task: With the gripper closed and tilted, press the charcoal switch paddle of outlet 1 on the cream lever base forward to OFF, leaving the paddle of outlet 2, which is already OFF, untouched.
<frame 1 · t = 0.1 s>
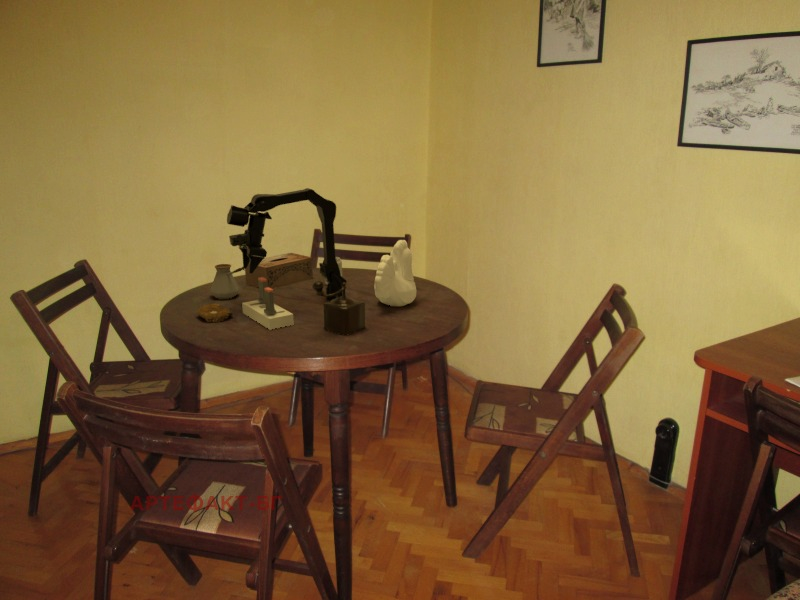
hand: (247, 270, 224), 15 cm above the table, tool pointing down, fingers open, 9 cm apart
cream lever base: (267, 318, 219), on the table
decorative rock: (213, 317, 221), on the table
cream foot sculpture: (390, 305, 236), on the table
switch 2: (269, 300, 210), point 9 cm above the table, slide at 4.0 cm
switch 1: (262, 290, 223), point 9 cm above the table, slide at 0.0 cm
coffee pot: (232, 299, 243), on the table
can: (333, 285, 264), on the table
tissue box cover: (280, 282, 269), on the table
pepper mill: (339, 330, 208), on the table
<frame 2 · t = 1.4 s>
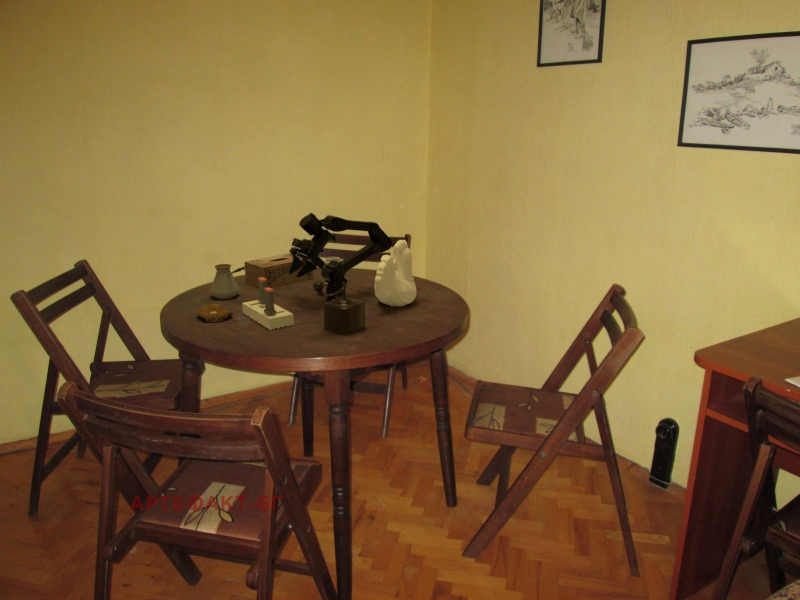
hand: (293, 275, 229), 13 cm above the table, tool tilted 45°, fingers open, 6 cm apart
nothing on the table moved.
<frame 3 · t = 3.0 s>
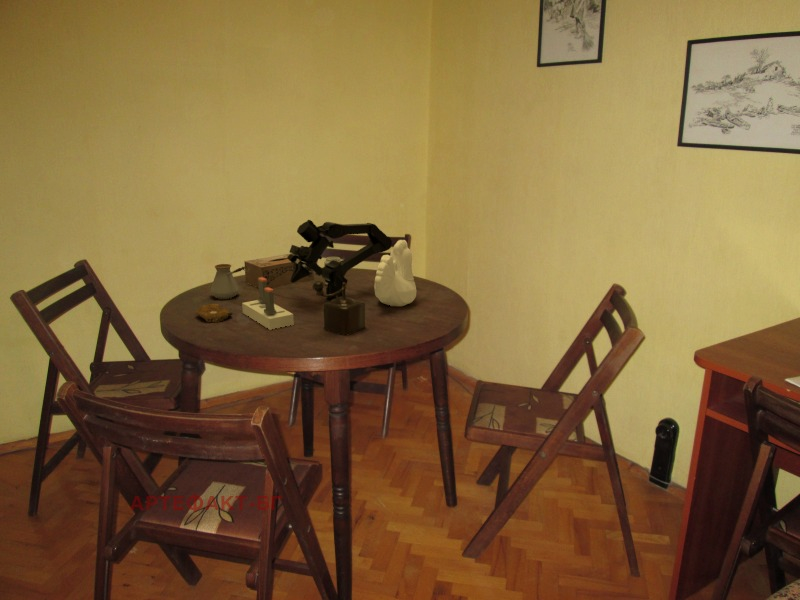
hand: (291, 282, 229), 10 cm above the table, tool tilted 45°, fingers closed
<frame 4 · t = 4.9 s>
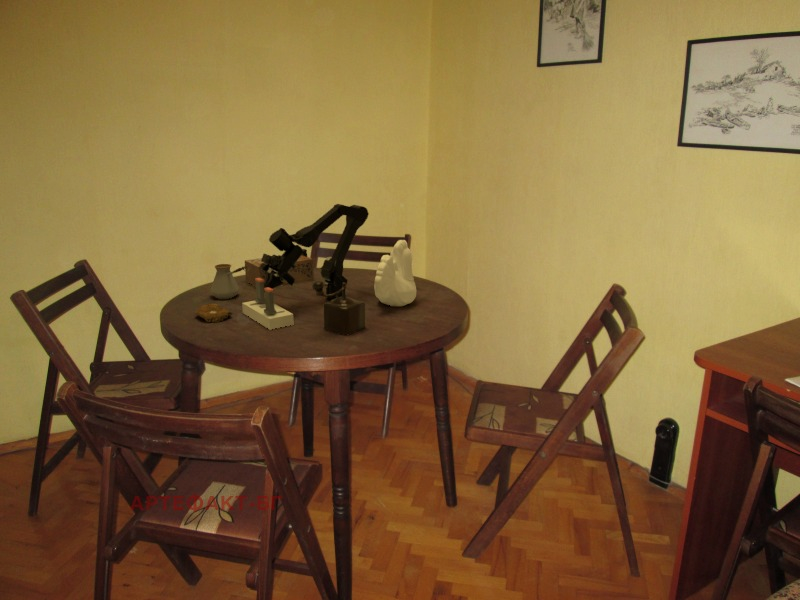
hand: (262, 291, 223), 8 cm above the table, tool tilted 45°, fingers closed, pressing on switch 1
switch 1: (260, 290, 222), point 9 cm above the table, slide at 1.1 cm, touching gripper
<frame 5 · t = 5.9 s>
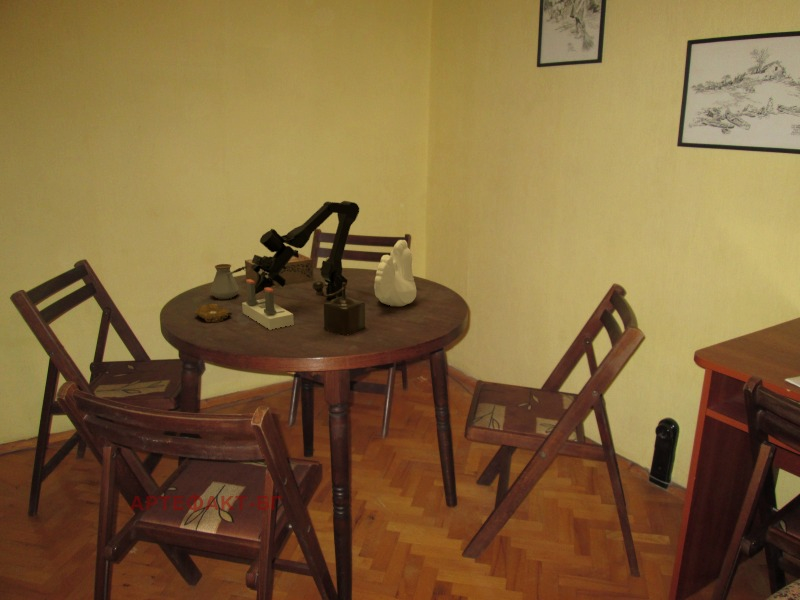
hand: (253, 293, 221), 8 cm above the table, tool tilted 45°, fingers closed, pressing on switch 1
switch 1: (251, 292, 220), point 9 cm above the table, slide at 4.6 cm, touching gripper
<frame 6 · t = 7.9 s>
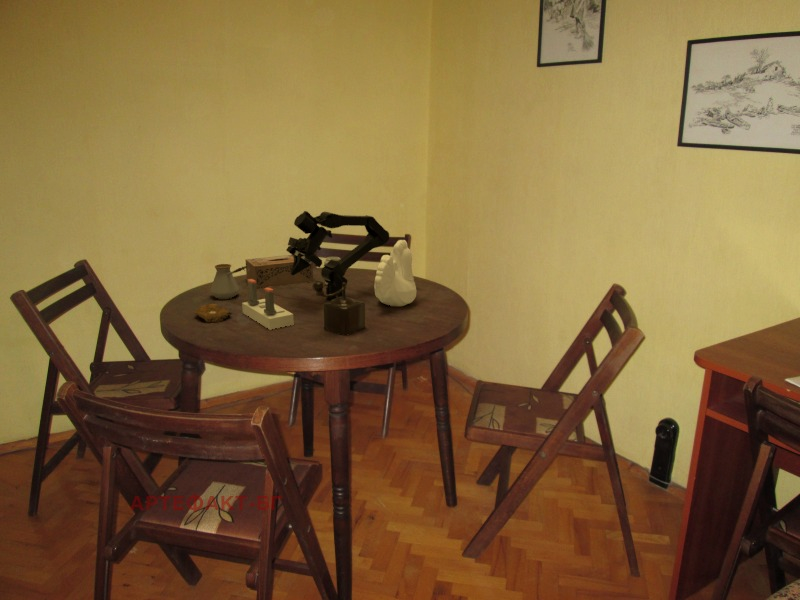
hand: (291, 274, 229), 13 cm above the table, tool tilted 40°, fingers closed
switch 1: (252, 291, 221), point 9 cm above the table, slide at 4.1 cm
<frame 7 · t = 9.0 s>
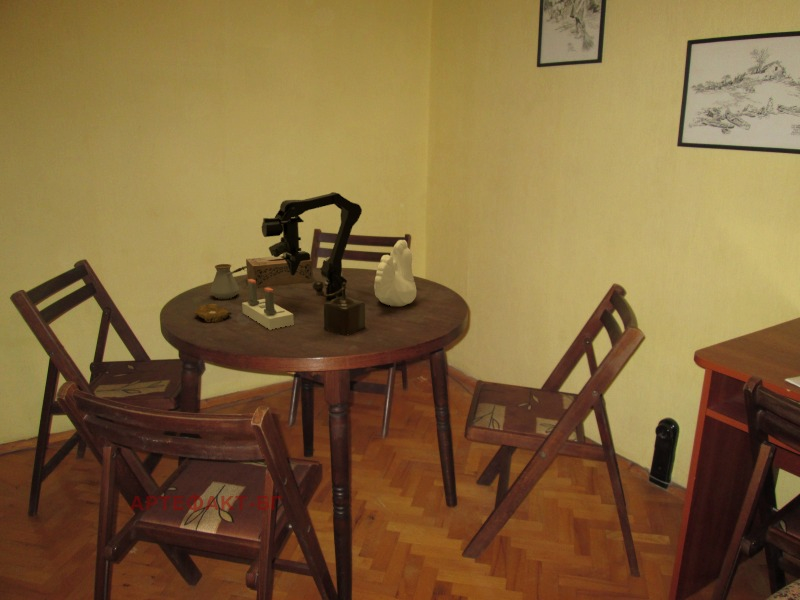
hand: (292, 275, 231), 12 cm above the table, tool pointing down, fingers closed
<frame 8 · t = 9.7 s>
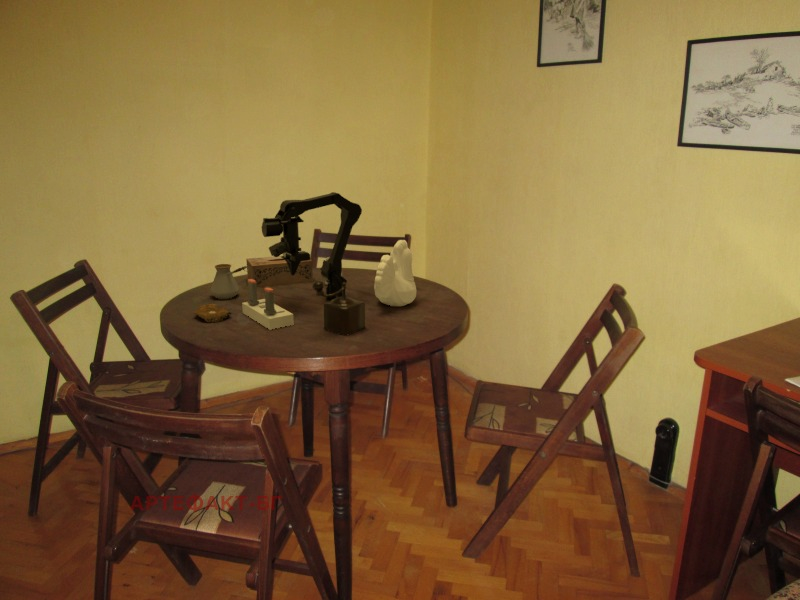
hand: (292, 275, 231), 12 cm above the table, tool pointing down, fingers closed
at the end: switch 1 slide at 4.1 cm; switch 2 slide at 4.0 cm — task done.
